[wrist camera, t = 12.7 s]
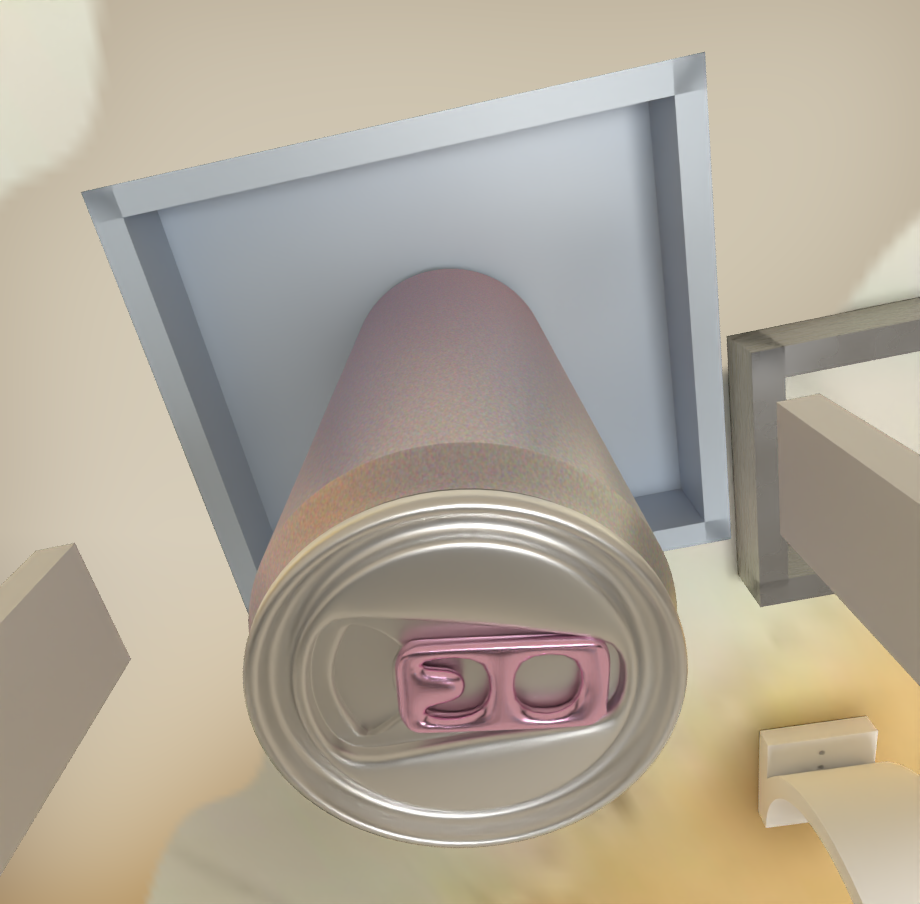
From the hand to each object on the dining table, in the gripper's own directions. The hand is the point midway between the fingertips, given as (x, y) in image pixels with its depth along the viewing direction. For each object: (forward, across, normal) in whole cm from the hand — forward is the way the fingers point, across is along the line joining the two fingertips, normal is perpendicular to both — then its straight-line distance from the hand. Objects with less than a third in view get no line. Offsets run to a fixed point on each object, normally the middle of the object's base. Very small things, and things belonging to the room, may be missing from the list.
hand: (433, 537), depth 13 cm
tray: (+11, 0, 0) cm, 11 cm away
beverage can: (+11, +1, 0) cm, 11 cm away
